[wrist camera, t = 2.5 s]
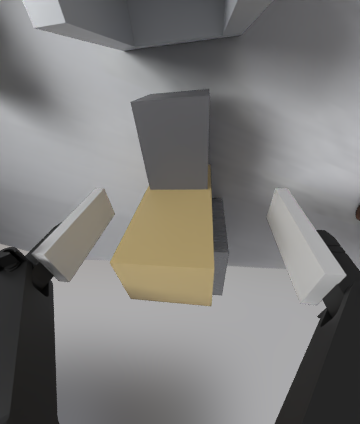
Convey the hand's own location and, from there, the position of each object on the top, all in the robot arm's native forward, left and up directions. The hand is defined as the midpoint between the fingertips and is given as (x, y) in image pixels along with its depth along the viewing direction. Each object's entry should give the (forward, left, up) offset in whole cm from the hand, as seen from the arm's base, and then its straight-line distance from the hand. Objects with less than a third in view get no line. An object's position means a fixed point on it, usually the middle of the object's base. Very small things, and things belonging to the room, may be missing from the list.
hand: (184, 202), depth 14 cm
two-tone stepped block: (0, -1, -3) cm, 3 cm away
